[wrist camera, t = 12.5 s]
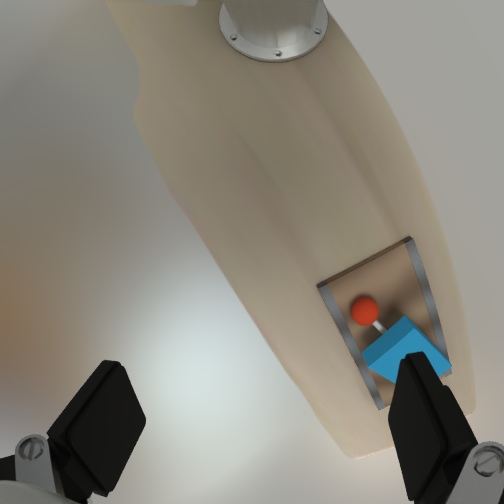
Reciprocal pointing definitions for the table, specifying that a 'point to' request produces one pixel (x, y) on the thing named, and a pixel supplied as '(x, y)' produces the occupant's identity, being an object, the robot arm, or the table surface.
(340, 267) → the table surface
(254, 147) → the table surface
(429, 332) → the ribbed board
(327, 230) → the table surface
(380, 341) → the lever
